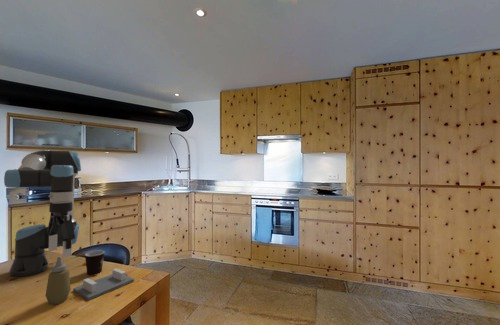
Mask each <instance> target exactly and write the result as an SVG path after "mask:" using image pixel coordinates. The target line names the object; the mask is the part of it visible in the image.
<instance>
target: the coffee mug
mask: <svg viewBox="0 0 500 325" xmlns="http://www.w3.org/2000/svg"><path fill="white" fill-rule="evenodd" d="M84 257H85V258H84V259H85V266H86V274H88V276H95V274H96V275H99V274H101V273H102V271H103V264H104V258H105V250H94V251H93V250H92V251H89V252H86V253H85V254H84ZM100 272H101V273H100ZM98 273H99V274H98Z"/></svg>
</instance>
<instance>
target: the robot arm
mask: <svg viewBox="0 0 500 325" xmlns="http://www.w3.org/2000/svg"><path fill="white" fill-rule="evenodd" d="M81 171H82V166H81V158H80V153H78V151H73V150H72V151H70V150H49V149H48V150H47V149H45V150H38V151H33V152H31V153H28V154H27V155H25V156H24V157H23V158H22V159H21V164H20V166H19V167H18V169H16V168H15V169H6V171H5V172H4V177H3V180H4V181H3V182H4V186H5V188H9V189H10V188H13V189H21V188H23V189H24V188H26V189H27V188H50V190H49V194H48V198H49V202H50V203H49V206H48V207H49V210H48V211H49V212H50V217H49V222H48V224H47V225H46V224H45V223H41V224H35V225H34V224H33V225H29V226H26V227H22V228H20V229H18V230H17V231H16V232H15V239H14V241H15V243H14V244H15V246H14V260H13V261H12V264H11V266H10V269H9V271H8V275H9V277H11V278H12V277H13V278H17V277H18V278H19V277H26V276H31V275H36V274H38V273H42V272H44V271H45V270H47V269H48V268H49V261H48V259H47V256H46V254H45V249H48V252H54V251H57V250H58V248H60V247H62V259H64V258H70V257H72V249H73V248H72V247H73V246H72V245H75V244H76V242H77V241H78V235H79V231H80V223H79V222H78V223H77V220H76V219H75V218H74V211H75V210H74V208H75V204H74V203H75V181H76V180H75V177H76V176H78V175H79V172H81Z"/></svg>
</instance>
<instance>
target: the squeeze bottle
mask: <svg viewBox="0 0 500 325" xmlns="http://www.w3.org/2000/svg"><path fill="white" fill-rule="evenodd" d="M70 292H71V281H70V271H69V269H68V268H67V264H66V263H64V262H63V257H62V256H58V257H57V260H56V261H55V265H53V266H52V267H51V272H49V274H48V278H47V283H46V290H45V298H46V300H47V302H48V304H49V305H51V306H52V305H54V306H55V305H58V304H61V303H64V302H65V301H66V300H68V297H69V295H70Z"/></svg>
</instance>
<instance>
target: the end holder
mask: <svg viewBox="0 0 500 325" xmlns="http://www.w3.org/2000/svg"><path fill="white" fill-rule="evenodd" d="M111 272H112V273H111V274H109V275H106V276H103V277H101V278H98V279H95V280H92V279H90V278H89V277H87V278H85V279H83V280H82V285H79V286H76V287H74V288H73V290H72V291H73V292H74V293H76V294H77V295H79V296H81V297H82V298H83V299H85V300H87V301H91V300H93V299H96V298H98V297H101V296H103V295H104V294H105V295H106V294H107V293H110V292H112V291H115V290H116V289H119V288H121V287H124V286H126V285H128V284H131V283H134V282H135V278H133V277H130V276H128V275H126V273H127V272H126V271H124V270H123V269H119V268H117V267H116V268H114V269H112V271H111Z"/></svg>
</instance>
